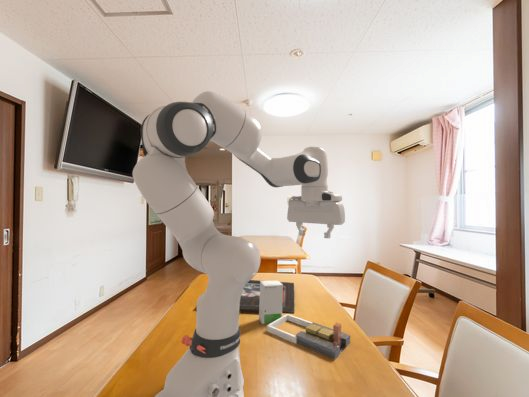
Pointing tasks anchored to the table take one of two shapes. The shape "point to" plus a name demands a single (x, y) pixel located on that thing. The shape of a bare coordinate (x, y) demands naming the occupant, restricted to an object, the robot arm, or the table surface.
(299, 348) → the table surface
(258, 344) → the table surface
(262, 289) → the skincare box
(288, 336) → the tray
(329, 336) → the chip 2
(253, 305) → the religious icon
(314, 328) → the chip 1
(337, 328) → the copper metal bar
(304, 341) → the slot bed
